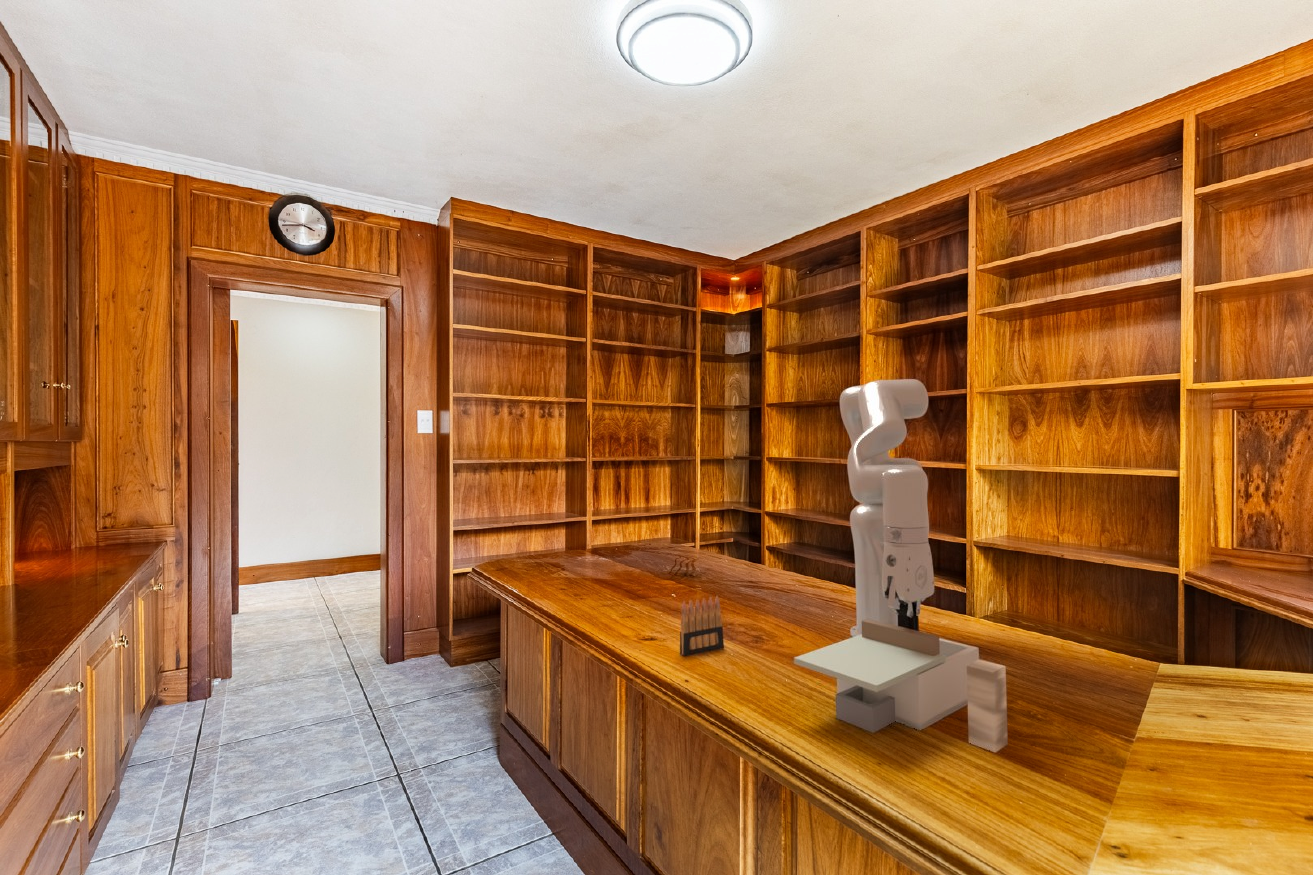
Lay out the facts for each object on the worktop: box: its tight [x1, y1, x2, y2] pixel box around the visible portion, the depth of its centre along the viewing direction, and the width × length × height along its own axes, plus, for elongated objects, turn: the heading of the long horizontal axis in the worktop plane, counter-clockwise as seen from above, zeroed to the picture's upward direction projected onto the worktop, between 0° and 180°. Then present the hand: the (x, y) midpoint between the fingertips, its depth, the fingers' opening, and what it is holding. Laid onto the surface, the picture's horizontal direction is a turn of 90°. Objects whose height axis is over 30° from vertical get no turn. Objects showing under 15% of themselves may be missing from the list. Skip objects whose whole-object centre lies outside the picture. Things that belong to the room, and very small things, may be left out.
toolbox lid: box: [793, 619, 946, 692], centre depth 107 cm, size 20×16×4 cm
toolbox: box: [834, 637, 980, 734], centre depth 112 cm, size 26×16×9 cm, turn 127°
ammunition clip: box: [679, 595, 725, 657], centre depth 142 cm, size 11×2×12 cm, turn 118°
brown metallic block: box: [967, 658, 1009, 754], centre depth 97 cm, size 4×4×12 cm
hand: (908, 636), depth 114 cm, fingers closed
